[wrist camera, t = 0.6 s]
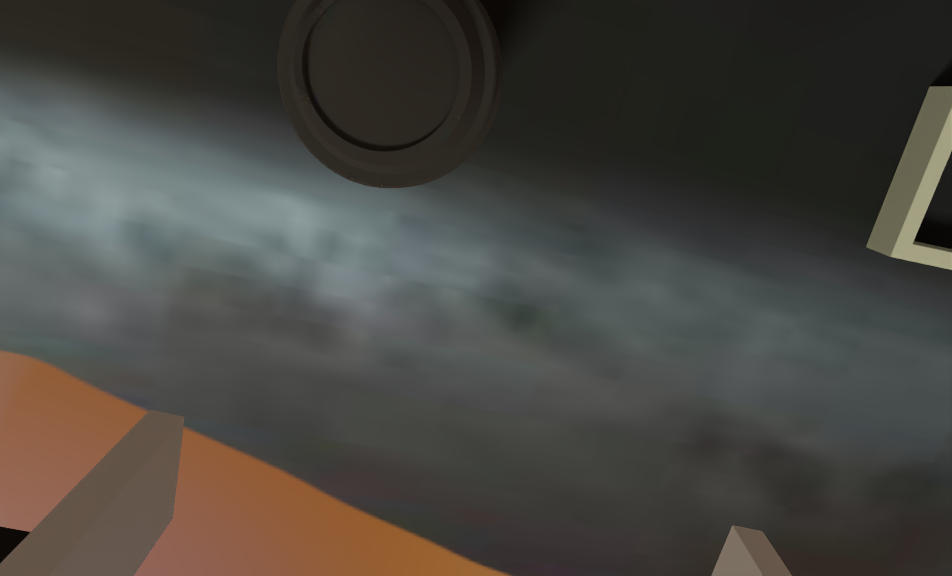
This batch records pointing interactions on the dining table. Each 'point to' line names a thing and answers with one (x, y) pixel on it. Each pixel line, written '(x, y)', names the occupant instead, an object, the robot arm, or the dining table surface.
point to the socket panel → (917, 185)
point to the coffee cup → (390, 85)
